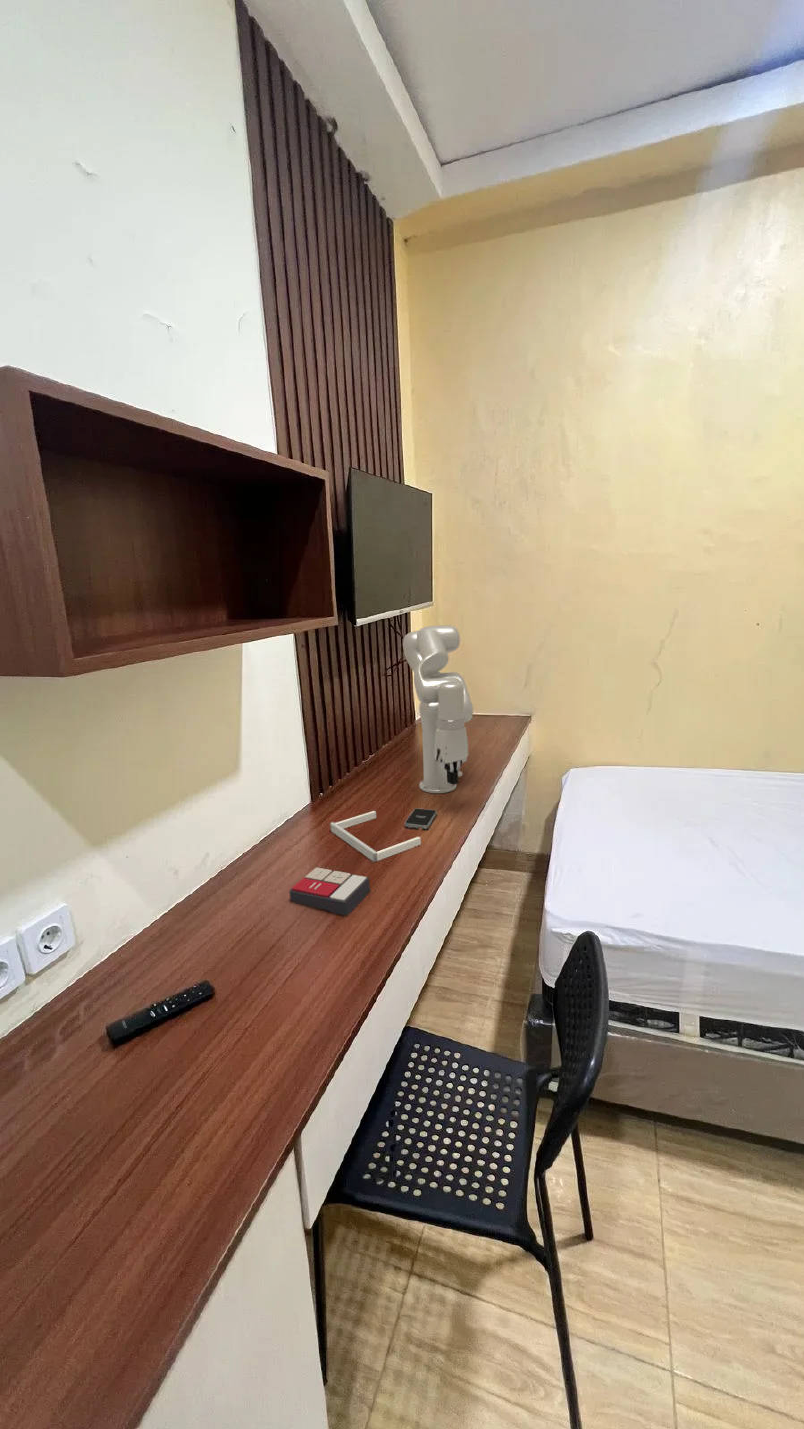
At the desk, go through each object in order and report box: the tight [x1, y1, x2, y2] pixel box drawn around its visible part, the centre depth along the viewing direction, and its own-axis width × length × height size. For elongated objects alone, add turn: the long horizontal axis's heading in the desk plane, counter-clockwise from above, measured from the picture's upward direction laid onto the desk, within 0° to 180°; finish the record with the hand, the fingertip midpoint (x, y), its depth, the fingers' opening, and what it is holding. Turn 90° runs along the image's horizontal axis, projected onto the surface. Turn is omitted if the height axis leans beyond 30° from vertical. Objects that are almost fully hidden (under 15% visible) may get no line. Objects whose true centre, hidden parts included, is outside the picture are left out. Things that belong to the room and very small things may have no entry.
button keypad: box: [288, 867, 371, 917], centre depth 129 cm, size 11×4×15 cm
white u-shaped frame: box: [329, 810, 422, 863], centre depth 157 cm, size 15×23×2 cm, turn 36°
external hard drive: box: [404, 808, 438, 831], centre depth 166 cm, size 7×11×2 cm, turn 162°
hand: (452, 782), depth 170 cm, fingers closed
